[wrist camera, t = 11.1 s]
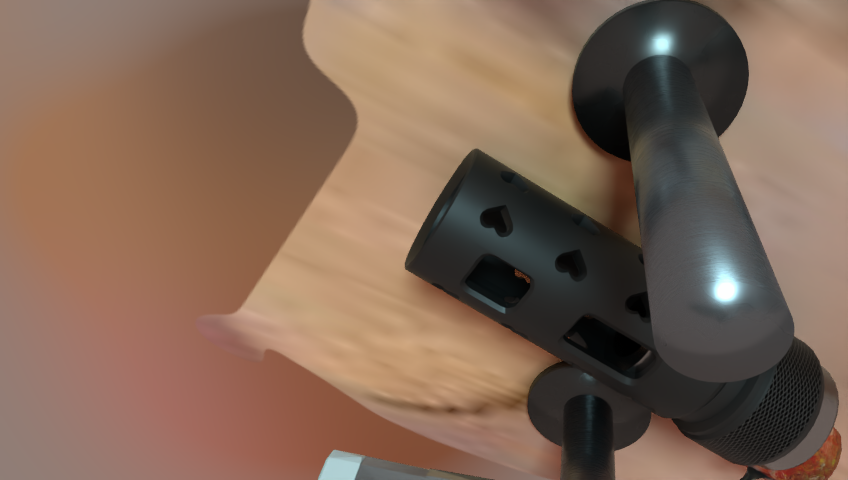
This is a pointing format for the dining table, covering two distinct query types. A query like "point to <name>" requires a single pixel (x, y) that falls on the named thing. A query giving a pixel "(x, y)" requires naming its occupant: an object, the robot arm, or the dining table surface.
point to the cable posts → (670, 220)
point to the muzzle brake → (606, 315)
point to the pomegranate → (805, 464)
